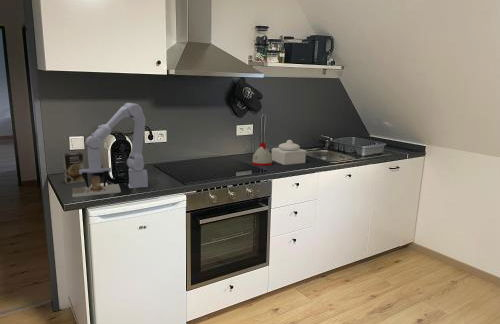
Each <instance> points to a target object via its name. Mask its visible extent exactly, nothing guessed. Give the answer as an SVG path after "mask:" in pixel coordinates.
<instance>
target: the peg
mask: <svg viewBox="0 0 500 324" xmlns="http://www.w3.org/2000/svg"><path fill="white" fill-rule="evenodd" d="M100 183H101V177H100V176H99V175H96V176H94V175H93V176H91V184H92V190H101V184H100Z"/></svg>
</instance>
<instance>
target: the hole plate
mask: <svg viewBox="0 0 500 324" xmlns="http://www.w3.org/2000/svg"><path fill="white" fill-rule="evenodd" d="M119 193H122V191H121V187H120V185H119V183H116V184H115V183H114V184H108V185H105V187H104V185H101V190H92V186H91V185H89V188H87V186H81V187H72V198H78V197H80V198H81V197H88V196H90V197H91V196H99V195H107V194H108V195H110V194H119Z"/></svg>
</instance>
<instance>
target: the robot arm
mask: <svg viewBox="0 0 500 324" xmlns="http://www.w3.org/2000/svg"><path fill="white" fill-rule="evenodd" d="M123 104H124V105H123V106H121V107H120V108H119V109H118V110H117V111H116V112H115V114H113V116H112V117H111V118H110V119H109V120H108V121H107V122H106V124H104V123H103V124H99V125H98V126H97V129H96V130H95V131H94V132H92V133H91V134H90V136H88V137H86V139H85V141H84V143H85V145H86V148H87V160H88V161H87V162H88V168H84V169H82V170H79V174H82V177H83V178H84V180H85V182H84V183H85V184H86V187H87V188H89V187H90V185H89V179H88V174H95V173H97V174H98V173H102V176H103V183H104V187H105V184H106V183H107V180H108V177H109V174H110V173H111V172H112V170H111V167H102V160H101V159H102V158H101V151H100V150H101V149H100V147H101V145H102V142H104V141H105V139H106V138H107V137H109V135H110V134H111V133H112V129H113V128H114V127H115V126H116V125H117V124H118V123H119V122H121V120H123V119H125V118H131V120H133V121H134V126H133V128H134V129H133V136H132V142H131V144H132V145H131V151H130V153H129V156H128V158H127V160H126V166H127V167H128V184H127V186H128V188H129V189H137V188H141V189H142V188H149V183H148V182H149V180H148V171H147V169H144V167H145V162H144V156H143V153H142V152H143V146H144V145H143V144H144V137H145V130H146V129H145V128H146V122H147V119H146V116H145V114H144V111H143V108H142V107H141V106H140V105H139V104H138V103H132V102H126V103H123Z"/></svg>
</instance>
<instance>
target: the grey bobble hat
mask: <svg viewBox="0 0 500 324" xmlns="http://www.w3.org/2000/svg"><path fill="white" fill-rule="evenodd" d="M251 162H252V163H251V164H252V165H254V166H258V167H259V166H260V167H266V166H267V167H268V166H272V165H273V160H272V153H271V152H270V150H269V148H267V145H266V143H265V142H263V141H262V142H261V143H260V144H259V147H258V148H257V149H256V150H255V152H254V153H253V154H252V161H251Z"/></svg>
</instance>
